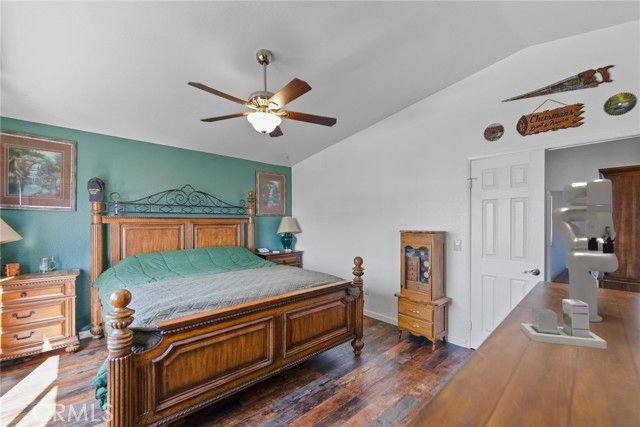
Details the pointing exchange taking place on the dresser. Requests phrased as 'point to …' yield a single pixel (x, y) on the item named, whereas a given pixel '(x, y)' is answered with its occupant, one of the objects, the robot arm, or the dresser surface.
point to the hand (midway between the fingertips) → (600, 252)
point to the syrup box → (575, 318)
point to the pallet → (564, 338)
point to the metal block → (544, 321)
